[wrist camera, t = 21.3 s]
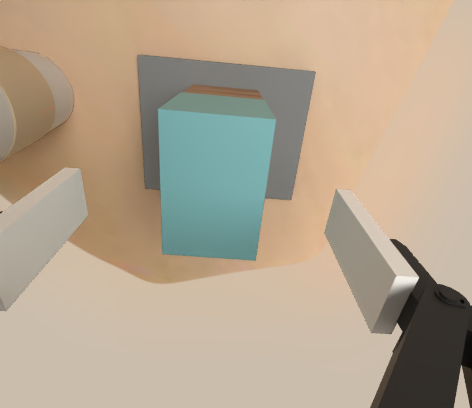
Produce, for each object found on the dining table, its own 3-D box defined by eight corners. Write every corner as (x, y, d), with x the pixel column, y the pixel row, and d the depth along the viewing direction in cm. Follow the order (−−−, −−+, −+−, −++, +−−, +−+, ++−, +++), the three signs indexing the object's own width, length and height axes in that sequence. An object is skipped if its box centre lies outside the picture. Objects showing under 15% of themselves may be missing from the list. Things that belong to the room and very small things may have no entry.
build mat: (140, 54, 27) (137, 54, 26) (313, 71, 28) (315, 71, 27) (147, 185, 33) (145, 188, 32) (290, 196, 34) (291, 200, 33)
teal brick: (181, 92, 21) (157, 109, 15) (264, 99, 22) (276, 119, 15) (180, 204, 25) (162, 254, 19) (251, 209, 26) (255, 260, 19)
